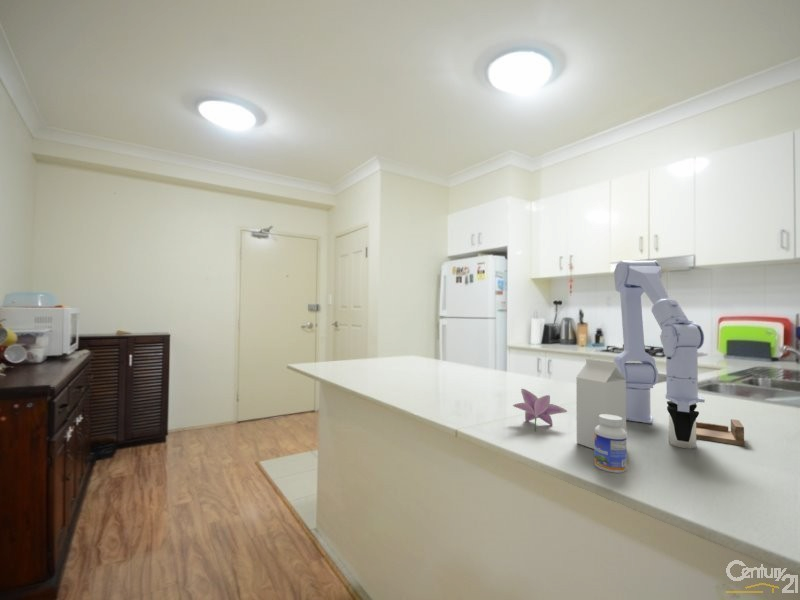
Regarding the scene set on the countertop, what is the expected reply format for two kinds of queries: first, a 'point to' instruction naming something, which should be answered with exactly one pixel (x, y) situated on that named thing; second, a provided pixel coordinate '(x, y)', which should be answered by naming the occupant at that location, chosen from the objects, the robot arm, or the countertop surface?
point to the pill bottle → (610, 444)
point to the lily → (538, 407)
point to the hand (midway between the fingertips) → (682, 437)
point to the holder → (721, 432)
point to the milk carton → (598, 398)
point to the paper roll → (682, 444)
